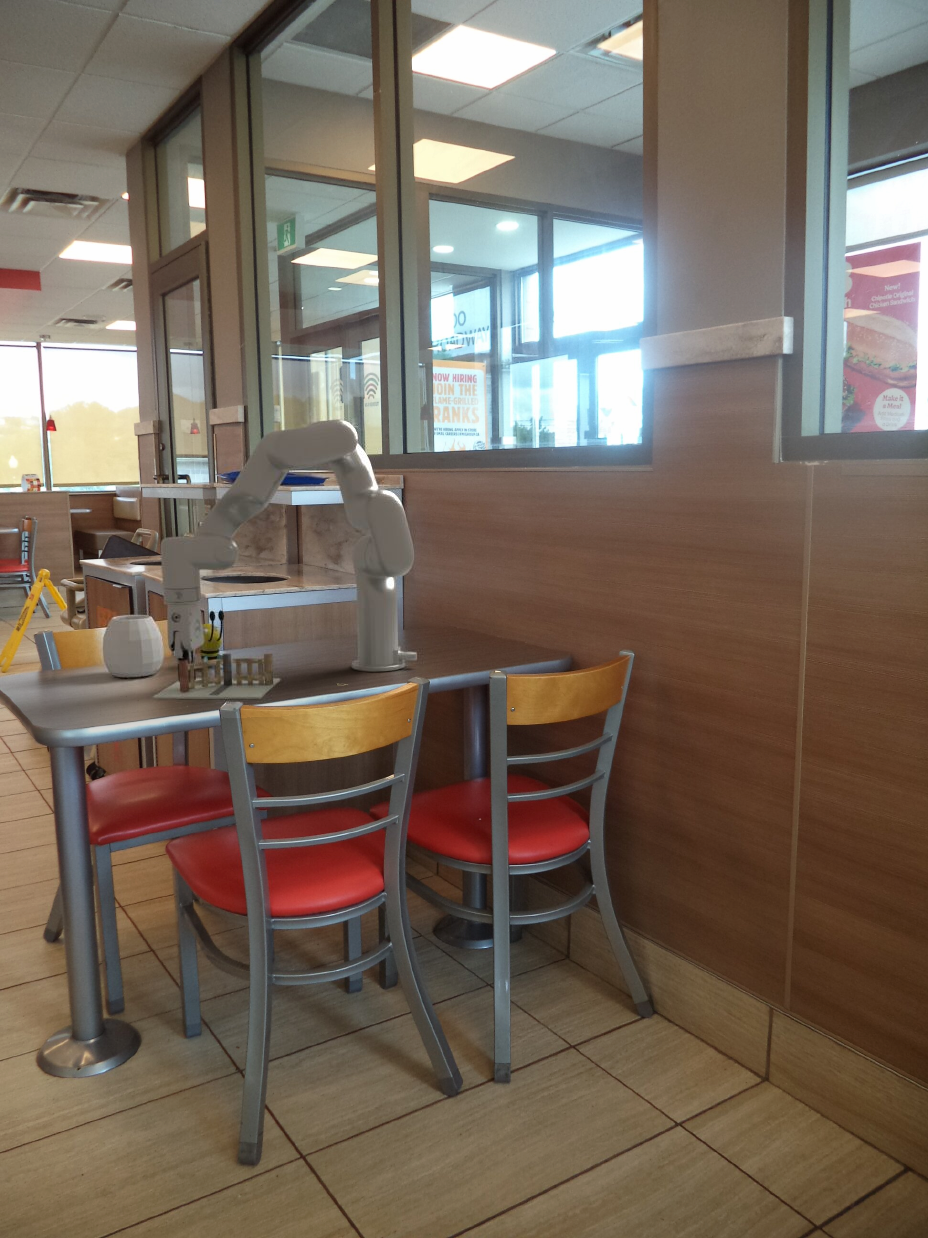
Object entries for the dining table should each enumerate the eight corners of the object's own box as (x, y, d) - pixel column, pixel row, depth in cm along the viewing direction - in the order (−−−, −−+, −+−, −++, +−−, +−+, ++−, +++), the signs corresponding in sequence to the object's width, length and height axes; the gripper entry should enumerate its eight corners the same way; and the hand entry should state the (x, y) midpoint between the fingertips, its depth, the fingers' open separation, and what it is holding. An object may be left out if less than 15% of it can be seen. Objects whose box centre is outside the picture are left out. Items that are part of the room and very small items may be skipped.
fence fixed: (274, 685, 210) (273, 653, 209) (272, 687, 208) (271, 655, 207) (225, 685, 210) (223, 653, 209) (222, 687, 208) (221, 655, 207)
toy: (213, 610, 238) (230, 609, 225) (217, 667, 238) (235, 669, 225) (187, 612, 235) (203, 611, 222) (192, 669, 235) (208, 671, 222)
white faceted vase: (130, 683, 213) (126, 622, 211) (91, 677, 220) (88, 618, 218) (176, 673, 224) (174, 615, 222) (138, 667, 231) (135, 612, 229)
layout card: (280, 680, 215) (280, 678, 215) (259, 698, 196) (259, 696, 196) (182, 680, 216) (182, 678, 216) (152, 698, 197) (152, 696, 197)
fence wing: (220, 683, 209) (219, 654, 208) (225, 684, 207) (224, 655, 207) (178, 690, 201) (177, 660, 200) (183, 692, 200) (181, 661, 199)
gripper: (189, 600, 195) (194, 689, 198) (210, 591, 210) (214, 674, 212) (152, 600, 195) (157, 689, 198) (176, 592, 210) (181, 674, 213)
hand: (187, 681), depth 205 cm, fingers closed
